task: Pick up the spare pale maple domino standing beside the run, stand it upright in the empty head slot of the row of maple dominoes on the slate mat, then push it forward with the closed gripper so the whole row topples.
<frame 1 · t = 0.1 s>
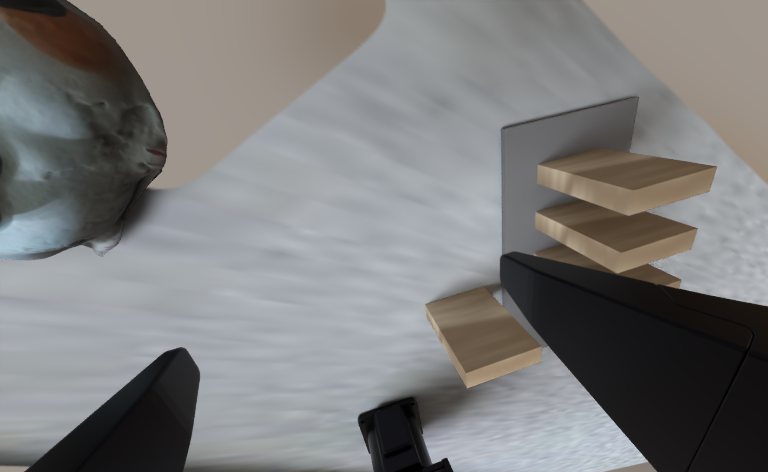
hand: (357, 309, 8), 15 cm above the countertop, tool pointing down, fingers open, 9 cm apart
domino 5: (569, 165, 25), resting on slate mat
slate mat: (558, 248, 29), on the countertop
lucky cat figurine: (23, 131, 17), on the countertop
domino 4: (564, 211, 27), resting on slate mat
domino 3: (561, 251, 29), resting on slate mat
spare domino: (455, 301, 29), on the countertop
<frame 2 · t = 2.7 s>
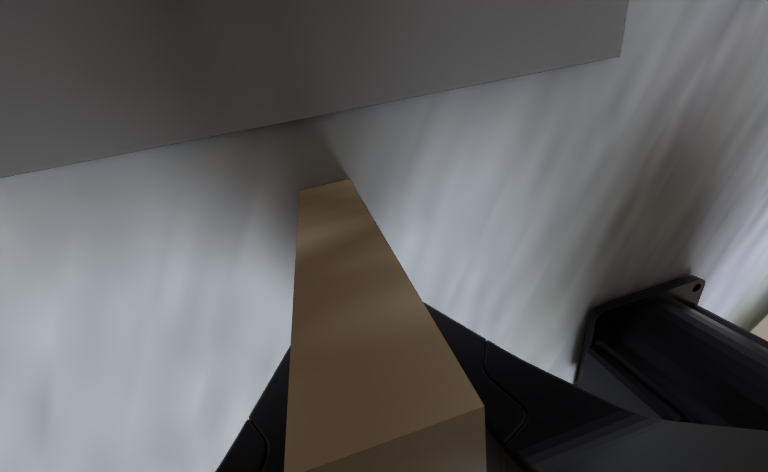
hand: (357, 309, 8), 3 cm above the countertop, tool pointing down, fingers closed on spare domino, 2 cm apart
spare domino: (346, 265, 11), on the countertop, touching gripper
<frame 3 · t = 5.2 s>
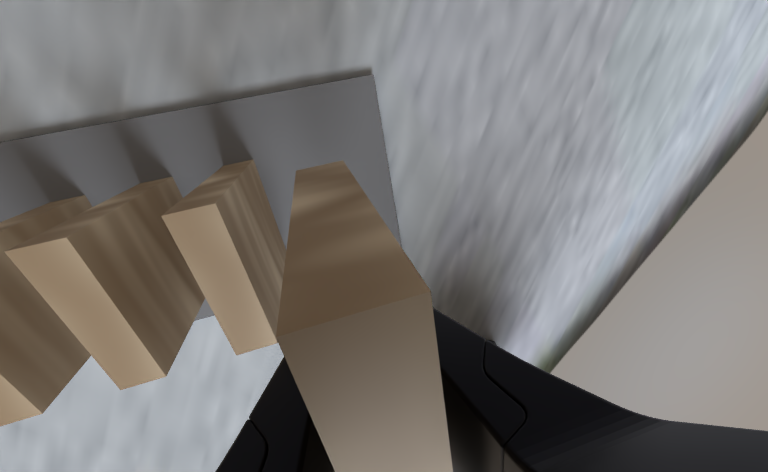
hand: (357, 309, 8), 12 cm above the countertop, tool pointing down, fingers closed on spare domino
domino 2: (257, 213, 18), resting on slate mat
slate mat: (183, 228, 17), on the countertop
domino 4: (102, 250, 16), resting on slate mat
domino 3: (182, 230, 17), resting on slate mat
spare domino: (340, 243, 11), point 8 cm above the countertop, touching gripper
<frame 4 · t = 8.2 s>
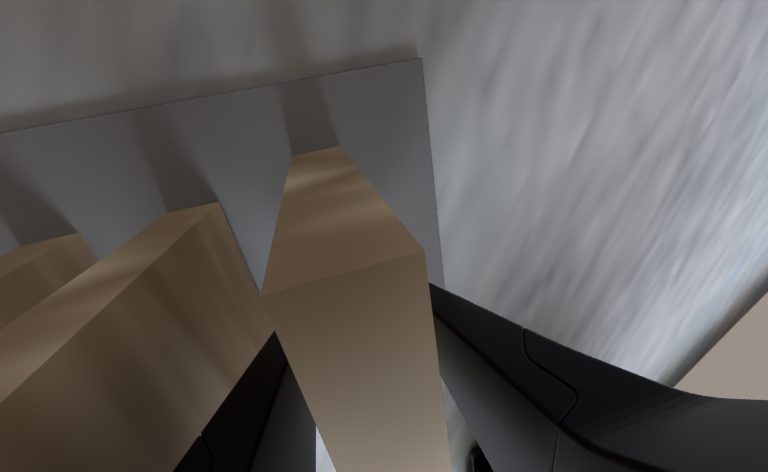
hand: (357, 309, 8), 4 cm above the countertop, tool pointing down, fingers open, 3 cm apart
domino 2: (230, 282, 11), resting on slate mat, tilted 5°, touching gripper
slate mat: (109, 308, 11), on the countertop
domino 3: (106, 314, 10), resting on slate mat
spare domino: (337, 231, 11), resting on slate mat
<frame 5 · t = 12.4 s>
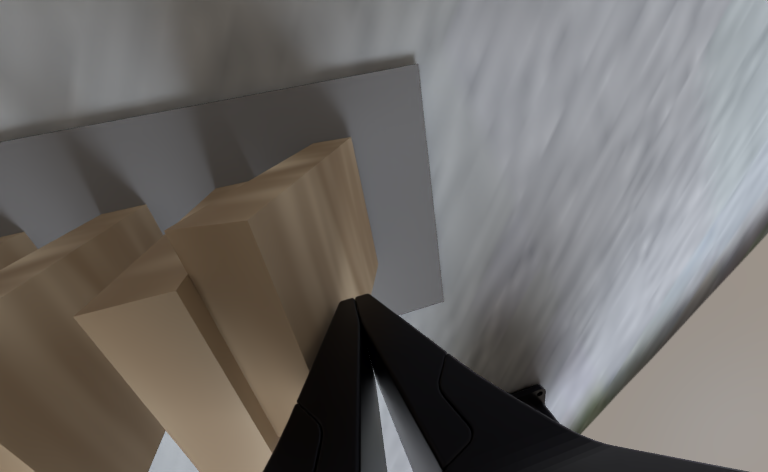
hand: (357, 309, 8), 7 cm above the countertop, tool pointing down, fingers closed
domino 2: (261, 248, 13), resting on slate mat
slate mat: (163, 269, 13), on the countertop
domino 4: (53, 302, 12), resting on slate mat
domino 3: (162, 273, 13), resting on slate mat
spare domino: (348, 209, 13), point 1 cm above the countertop, tilted 20°, touching gripper, slate mat
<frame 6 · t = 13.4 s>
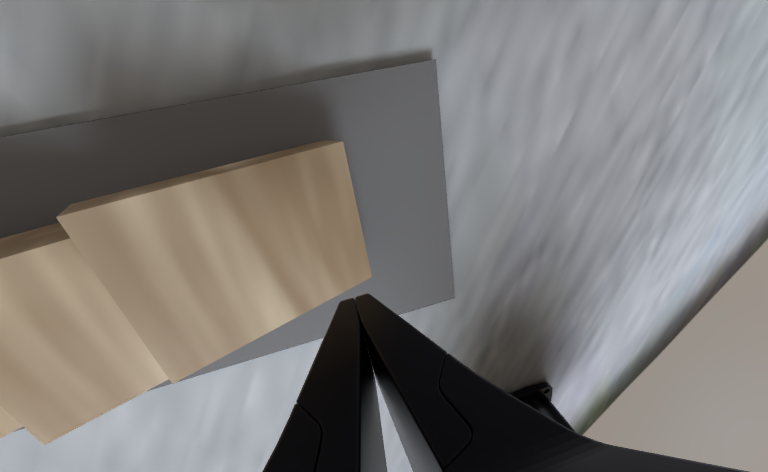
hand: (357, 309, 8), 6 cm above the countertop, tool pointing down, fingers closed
domino 2: (255, 255, 13), point 1 cm above the countertop, tilted 68°, touching domino 3, slate mat, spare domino
slate mat: (178, 263, 13), on the countertop
domino 3: (145, 283, 12), point 1 cm above the countertop, tilted 68°, touching domino 2, domino 4, slate mat
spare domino: (349, 212, 13), point 1 cm above the countertop, tilted 68°, touching domino 2, slate mat
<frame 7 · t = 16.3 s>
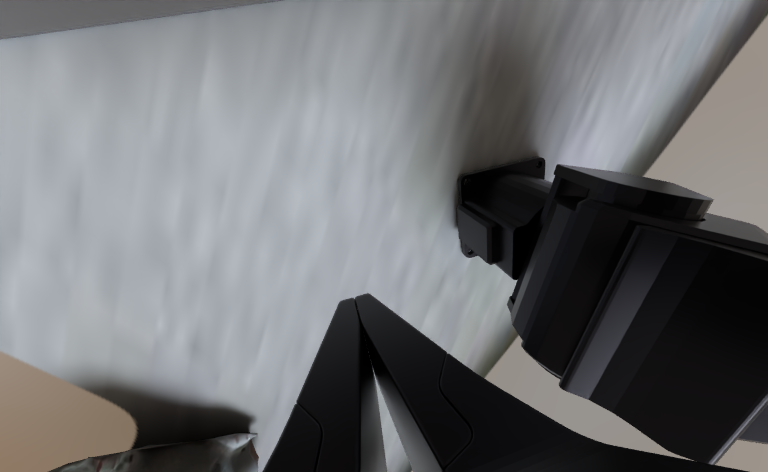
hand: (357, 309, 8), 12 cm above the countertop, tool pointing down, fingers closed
lucky cat figurine: (179, 459, 25), on the countertop
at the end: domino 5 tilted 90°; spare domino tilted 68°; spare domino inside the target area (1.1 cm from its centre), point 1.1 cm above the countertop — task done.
